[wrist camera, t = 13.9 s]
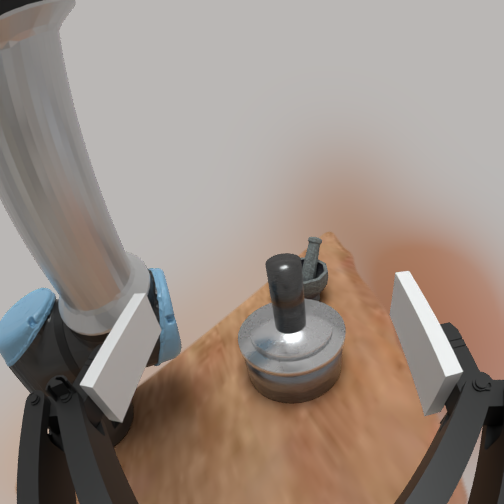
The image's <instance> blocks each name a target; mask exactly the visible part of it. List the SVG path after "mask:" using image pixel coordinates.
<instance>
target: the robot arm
mask: <svg viewBox="0 0 504 504" xmlns="http://www.w3.org/2000/svg"><path fill="white" fill-rule="evenodd" d="M74 6H75V0H0V199H1V201H2V203H3V205H4V207H5V209H6V211H7V213H8V215H9V216H10V218H11V220H12V222H13V224H14V226H15V227H16V229H17V231H18V233H19V234H20V236H21V238H22V239H23V241H24V243H25V244H26V246H27V248H28V249H29V251H30V252H31V254H32V255H33V257H34V259H35V260H36V262H37V263H38V265H39V266H40V268H41V270H42V271H43V272H44V274H45V275H46V277H47V278H48V280H49V281H50V283H51V284H52V285H53V287H54V288H55V289H56V291H57V292H58V294H59V295H60V296H59V299H58V300H57V299H56V296H55V294H54V293H53V292H52V291H51V290H50V289H48V288H40V289H37V290H35V291H32V292H31V293H29V294H27V295H26V296H24V297H23V298H22V299H20V300H19V301H18V302H17V303H16V304H14V305H13V306H12V307H11V308H10V309H9V310H8V312H7V313H6V314H5V315H4V317H3V318H2V319H1V321H0V353H1V355H2V357H3V358H4V359H5V362H6V364H7V365H8V366H9V368H10V369H11V370H12V372H13V373H14V374H15V375H16V377H17V378H18V379H19V380H20V381H21V382H22V384H23V385H24V386H25V387H26V388H27V390H28V391H29V392H30V393H31V394H29V396H28V397H27V400H26V404H25V409H24V415H23V422H22V429H21V437H20V446H19V456H18V457H19V458H18V472H17V504H76V496H75V491H76V494H77V497H78V500H79V503H80V504H138V502H137V500H136V498H135V496H134V494H133V492H132V490H131V487H130V485H129V483H128V481H127V479H126V477H125V474H124V472H123V470H122V468H121V465H120V463H119V460H118V458H117V456H116V453H115V450H114V448H113V446H115V445H116V444H117V443H119V442H120V441H121V440H122V439H123V437H124V436H125V435H126V433H127V432H128V430H129V428H130V426H131V423H132V420H133V405H132V401H131V400H132V397H133V395H134V392H135V390H136V388H137V385H138V383H139V381H140V378H141V376H142V373H143V371H144V369H145V367H149V366H152V365H154V366H158V365H160V364H161V363H162V362H165V361H168V360H171V359H173V358H175V357H177V356H178V355H179V354H180V352H181V341H180V336H179V332H178V327H177V324H176V320H175V317H174V312H173V307H172V303H171V299H170V295H169V291H168V287H167V283H166V279H165V275H164V272H163V271H162V270H161V269H159V268H155V269H153V268H150V269H148V268H147V267H146V265H145V263H144V262H143V261H142V260H141V259H140V258H139V257H138V256H136V255H134V254H132V253H129V252H125V250H124V248H123V246H122V243H121V241H120V239H119V236H118V234H117V232H116V229H115V227H114V224H113V222H112V219H111V217H110V215H109V212H108V209H107V207H106V204H105V201H104V199H103V196H102V193H101V191H100V188H99V185H98V182H97V180H96V177H95V174H94V171H93V168H92V165H91V162H90V159H89V156H88V152H87V149H86V146H85V143H84V140H83V136H82V133H81V130H80V126H79V122H78V119H77V115H76V111H75V108H74V103H73V99H72V95H71V91H70V87H69V82H68V78H67V73H66V68H65V63H64V58H63V53H62V47H61V41H60V35H59V29H60V27H61V25H62V23H63V21H64V20H65V18H66V17H67V16H68V14H69V13H70V12H71V10H72V9H73V8H74ZM390 317H391V319H392V322H393V324H394V327H395V330H396V332H397V335H398V337H399V340H400V343H401V345H402V348H403V351H404V354H405V356H406V359H407V362H408V365H409V368H410V371H411V374H412V377H413V380H414V383H415V386H416V389H417V392H418V395H419V399H420V402H421V405H422V409H423V412H424V416H427V415H431V414H434V413H438V412H441V410H442V408H443V407H444V405H445V406H446V409H447V413H446V415H445V416H444V418H443V419H442V421H441V422H440V424H441V425H440V427H439V429H438V431H437V433H436V435H435V437H434V439H433V441H432V443H431V445H430V447H429V449H428V451H427V452H426V454H425V456H424V458H423V460H422V461H421V463H420V465H419V466H418V468H417V470H416V471H415V473H414V475H413V476H412V478H411V480H410V481H409V483H408V484H407V486H406V487H405V489H404V490H403V492H402V493H401V495H400V496H399V498H398V499H397V500H396V502H395V503H394V504H447V503H448V501H449V499H450V497H451V496H452V494H453V492H454V490H455V488H456V486H457V484H458V482H459V480H460V478H461V476H462V474H463V472H464V470H465V467H466V465H467V463H468V461H469V459H470V456H471V454H472V452H473V449H474V447H475V444H476V442H477V439H478V437H479V434H480V431H481V428H482V426H483V428H482V436H481V444H480V450H479V456H478V462H477V467H476V472H475V477H474V481H473V486H472V489H471V493H470V497H469V501H468V504H504V380H492V379H491V377H490V376H489V375H487V374H486V373H484V372H480V371H479V369H478V367H477V365H476V363H475V361H474V359H473V357H472V355H471V353H470V351H469V349H468V348H467V346H466V344H465V342H464V340H463V339H462V336H461V335H460V333H459V331H458V329H457V328H455V327H454V326H453V325H452V324H451V323H444V324H439V322H438V320H437V318H436V317H435V315H434V313H433V311H432V309H431V308H430V306H429V304H428V302H427V300H426V299H425V297H424V295H423V294H422V292H421V290H420V288H419V287H418V285H417V283H416V282H415V280H414V279H413V277H412V275H411V274H410V272H409V271H405V272H397V273H395V281H394V288H393V296H392V303H391V309H390ZM47 429H49V434H48V433H47Z"/></svg>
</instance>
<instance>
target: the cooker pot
mask: <svg viewBox="0 0 504 504" xmlns="http://www.w3.org/2000/svg"><path fill="white" fill-rule="evenodd" d="M310 300H311V299H310ZM313 301H316V300H313ZM316 302H318V303H320V304H322V305H323V306H325V307H326V308H327V309H328V310H329V312H330V313H331V315H332V318H333V335H332V338H331V340H330V342H329V344H328V345H327V346H326V347H325V348H324V349H323V350H322V351H321V352H319V353H318V354H316V355H314V356H312V357H310V358H307V359H304V360H300V361H294V362H281V361H275V360H272V359H269V358H266V357H264V356H263V355H261V354H260V353H258V352H257V351H256V350H255V348H254V347H253V345H252V343H251V339H250V335H249V323H250V321H251V319H252V317H253V316H254V314H255V313H256V312H257V311H258V310H260V309H261V308H262V307H261V308H259V309H257V310H256V311H254V312H253V313H252V314H251V315H249V316H248V318H247V319H246V320H245V321H244V322H243V324H242V326H241V328H240V330H239V334H238V343H239V347H240V351H241V353H242V355H243V357H244V358H245V361H246V365H247V369H248V372H249V376H250V379H251V382H252V384H253V385H254V387H255V388H256V389H257V390H258V392H260V393H261V394H262V395H264V396H265V397H267V398H269V399H272V400H274V401H278V402H283V403H301V402H306V401H309V400H313V399H315V398H317V397H319V396H321V395H323V394H324V393H326V392H327V391H328V390H329V389H330V388H331V387H332V386H333V385H334V384H335V382H336V381H337V379H338V377H339V375H340V372H341V363H342V348H343V345H344V341H345V324H344V321H343V319H342V317H341V316H340V315H339V313H338V312H337V311H336V310H334V309H333V308H332V307H330V306H328V305H327V304H324V303H322V302H319V301H316ZM269 304H270V303H269ZM265 306H266V305H265ZM263 307H264V306H263Z"/></svg>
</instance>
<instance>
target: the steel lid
mask: <svg viewBox="0 0 504 504" xmlns="http://www.w3.org/2000/svg"><path fill="white" fill-rule="evenodd" d="M266 271H267V277H268V283H269V289H270V296H271V302H272V303H270V304H267V305H266V306H264V307H262V308H261V309H260V310H258V311H257V312H256V313H255V314H254V316H253V317H252V319H251V321H250V323H249V335H250V339H251V343H252V345H253V347H254V348H255V350H256V351H257V352H258V353H260V354H261V355H263V356H264V357H266V358H269V359H272V360H275V361H281V362H294V361H300V360H304V359H307V358H310V357H312V356H314V355H316V354H318V353H319V352H321V351H322V350H323V349H324V348H325V347H326V346H327V345H328V344H329V342H330V340H331V338H332V335H333V318H332V315H331V313H330V312H329V310H328V309H327V308H326V307H325V306H323V305H322V304H320V303H318V302H316V301H313V300H310V299H305V298H304V286H303V275H302V264H301V258H300V257H299V256H297V255H294V254H288V253H286V254H278V255H275V256H273V257H271V258H269V259H268V260H267V261H266Z"/></svg>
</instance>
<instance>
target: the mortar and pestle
mask: <svg viewBox="0 0 504 504" xmlns="http://www.w3.org/2000/svg"><path fill="white" fill-rule="evenodd" d="M308 241H309V245H308V249H307V252H306V256H305V258H301V264H302V275H303V286H304V298H305V299H311V300H316V301H319V300H320V293H321V292H322V290H323V289H324V288H325V286H326V285H327V281H328V270H327V266H326V263H324V262H322V261H320V260H318V255H319V247H320V244H321V243H322V240H321V239H320V238H317V237H309V239H308Z"/></svg>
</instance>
